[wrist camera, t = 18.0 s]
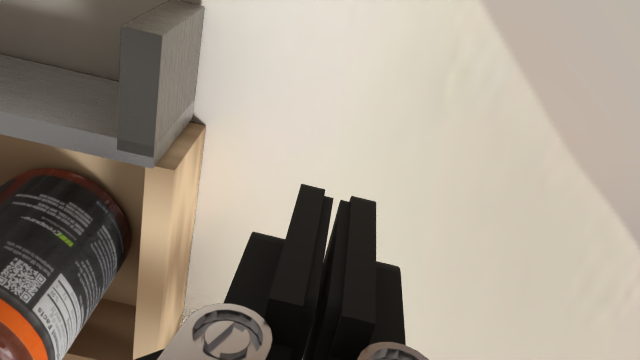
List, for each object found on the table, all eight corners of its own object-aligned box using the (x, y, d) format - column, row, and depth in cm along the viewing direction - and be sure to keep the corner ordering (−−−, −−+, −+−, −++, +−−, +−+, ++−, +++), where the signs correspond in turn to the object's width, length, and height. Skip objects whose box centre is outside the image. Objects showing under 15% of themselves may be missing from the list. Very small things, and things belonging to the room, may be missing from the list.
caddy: (181, 323, 27) (153, 388, 23) (-37, 275, 26) (-99, 334, 23) (206, 125, 22) (174, 170, 18) (-65, 63, 21) (-151, 96, 18)
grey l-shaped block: (192, 118, 21) (152, 168, 17) (-58, 59, 21) (-157, 98, 17) (204, 6, 19) (162, 35, 15) (-73, -60, 19) (-190, -48, 15)
